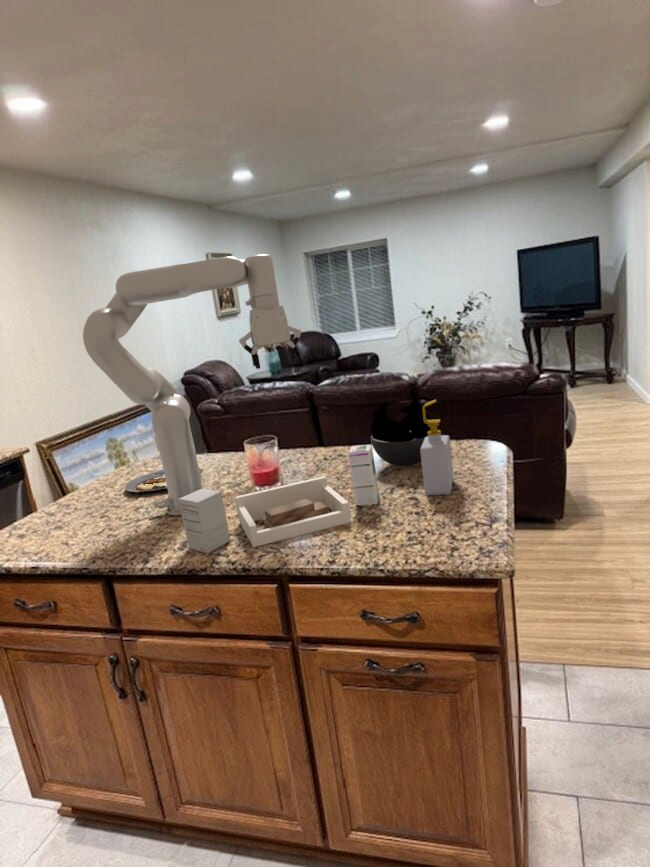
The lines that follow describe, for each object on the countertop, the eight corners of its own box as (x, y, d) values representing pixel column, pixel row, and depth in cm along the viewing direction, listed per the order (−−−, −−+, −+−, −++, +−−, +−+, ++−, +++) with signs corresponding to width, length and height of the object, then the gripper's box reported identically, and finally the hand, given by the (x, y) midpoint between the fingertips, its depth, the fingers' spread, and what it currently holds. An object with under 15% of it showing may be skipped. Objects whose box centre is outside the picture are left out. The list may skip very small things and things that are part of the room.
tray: (253, 547, 137) (248, 518, 135) (239, 522, 154) (235, 496, 152) (351, 522, 143) (347, 494, 142) (328, 501, 160) (324, 476, 158)
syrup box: (377, 504, 152) (370, 449, 149) (354, 506, 153) (347, 452, 150) (379, 496, 158) (372, 443, 154) (357, 498, 159) (350, 445, 155)
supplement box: (211, 536, 147) (202, 487, 144) (231, 541, 142) (222, 490, 139) (187, 548, 141) (177, 498, 139) (207, 553, 137) (197, 501, 134)
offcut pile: (264, 543, 139) (260, 519, 138) (256, 536, 144) (252, 513, 143) (333, 521, 146) (329, 498, 145) (323, 515, 151) (320, 493, 150)
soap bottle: (451, 495, 152) (442, 404, 146) (424, 496, 153) (415, 406, 148) (453, 479, 163) (445, 394, 158) (429, 480, 165) (420, 397, 160)
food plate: (209, 468, 211) (207, 458, 210) (194, 490, 188) (191, 479, 187) (140, 479, 212) (137, 469, 211) (117, 502, 189) (114, 491, 189)
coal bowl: (452, 466, 174) (446, 403, 170) (388, 480, 169) (380, 416, 165) (423, 451, 193) (417, 394, 189) (365, 464, 188) (357, 406, 184)
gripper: (235, 306, 156) (246, 371, 160) (299, 297, 160) (308, 361, 164) (231, 307, 163) (241, 369, 167) (292, 298, 167) (301, 359, 171)
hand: (275, 365), depth 165 cm, fingers open, 9 cm apart
